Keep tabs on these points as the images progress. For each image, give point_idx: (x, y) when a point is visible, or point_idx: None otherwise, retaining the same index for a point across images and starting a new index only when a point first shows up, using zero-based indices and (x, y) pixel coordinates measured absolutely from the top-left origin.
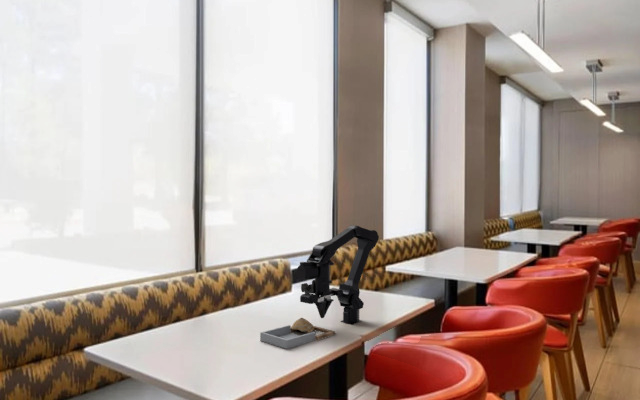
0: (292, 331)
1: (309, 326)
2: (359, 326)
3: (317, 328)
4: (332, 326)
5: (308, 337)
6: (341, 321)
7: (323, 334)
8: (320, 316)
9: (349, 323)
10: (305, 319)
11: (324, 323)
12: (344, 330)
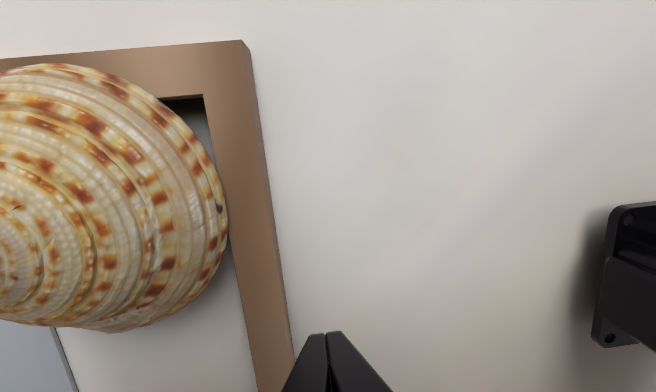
0: None
1: (109, 319)
2: None
3: (241, 295)
4: (489, 208)
5: None
6: (616, 226)
7: None
8: (304, 353)
9: (600, 317)
10: (47, 273)
11: (524, 67)
12: (461, 354)
